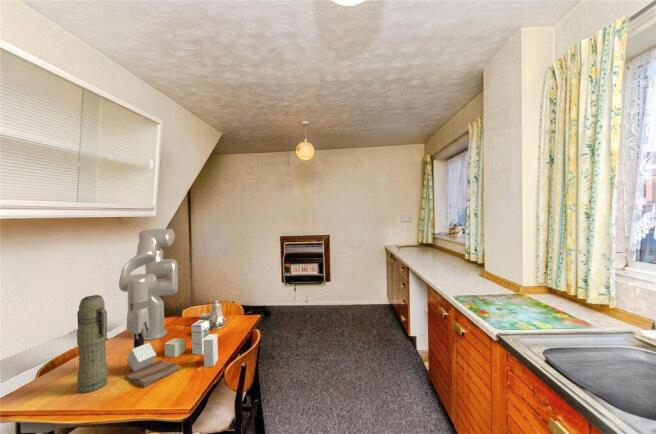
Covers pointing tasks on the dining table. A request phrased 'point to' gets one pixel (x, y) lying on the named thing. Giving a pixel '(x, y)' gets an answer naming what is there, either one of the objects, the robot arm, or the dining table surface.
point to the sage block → (174, 347)
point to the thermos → (92, 344)
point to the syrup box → (199, 336)
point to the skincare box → (210, 350)
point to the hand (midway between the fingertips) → (138, 347)
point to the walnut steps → (152, 373)
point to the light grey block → (141, 357)
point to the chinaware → (214, 316)
